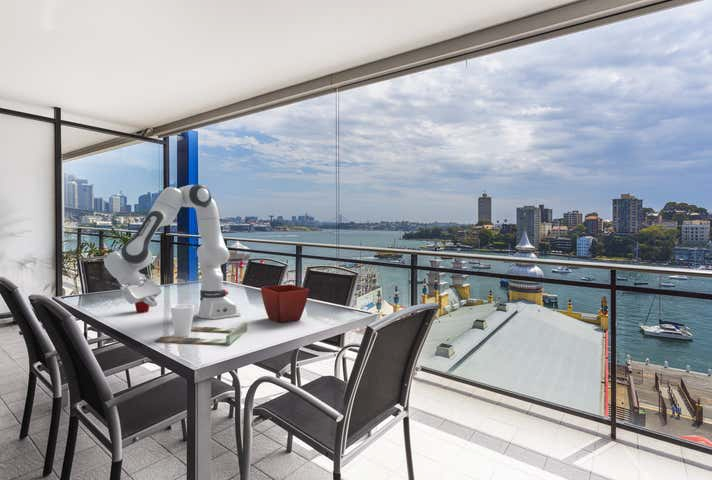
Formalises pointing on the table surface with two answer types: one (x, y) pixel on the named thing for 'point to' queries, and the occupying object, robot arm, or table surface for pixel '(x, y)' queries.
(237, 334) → the runway box
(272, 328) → the table surface
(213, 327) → the trap pads
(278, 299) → the plant pot
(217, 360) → the table surface
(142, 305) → the plastic cup
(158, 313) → the table surface
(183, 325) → the foam cup
